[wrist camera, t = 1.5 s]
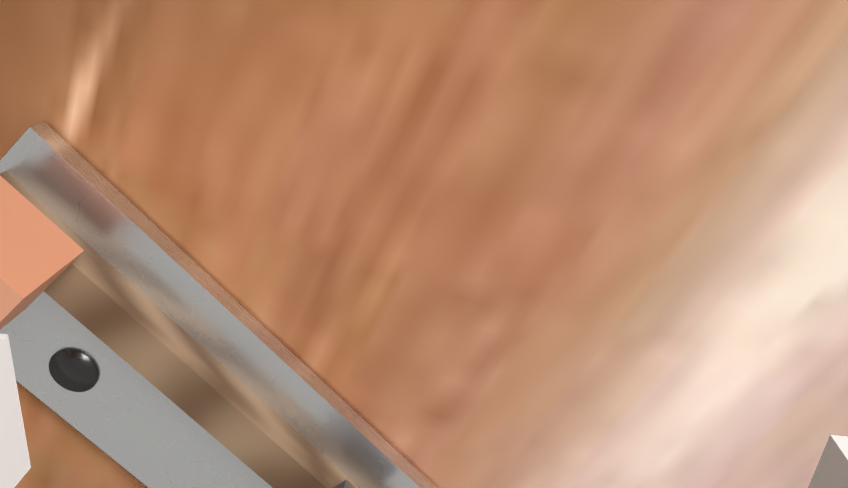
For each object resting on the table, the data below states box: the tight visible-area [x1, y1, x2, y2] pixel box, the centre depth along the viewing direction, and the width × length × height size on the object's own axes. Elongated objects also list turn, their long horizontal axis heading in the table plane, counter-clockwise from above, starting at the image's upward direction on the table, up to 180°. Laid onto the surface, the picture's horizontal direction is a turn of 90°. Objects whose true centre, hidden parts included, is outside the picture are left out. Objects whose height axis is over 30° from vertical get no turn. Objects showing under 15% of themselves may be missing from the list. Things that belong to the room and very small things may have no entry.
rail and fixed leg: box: [0, 171, 360, 488], centre depth 38 cm, size 29×9×6 cm, turn 42°
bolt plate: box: [0, 121, 437, 488], centre depth 41 cm, size 30×13×1 cm, turn 42°
